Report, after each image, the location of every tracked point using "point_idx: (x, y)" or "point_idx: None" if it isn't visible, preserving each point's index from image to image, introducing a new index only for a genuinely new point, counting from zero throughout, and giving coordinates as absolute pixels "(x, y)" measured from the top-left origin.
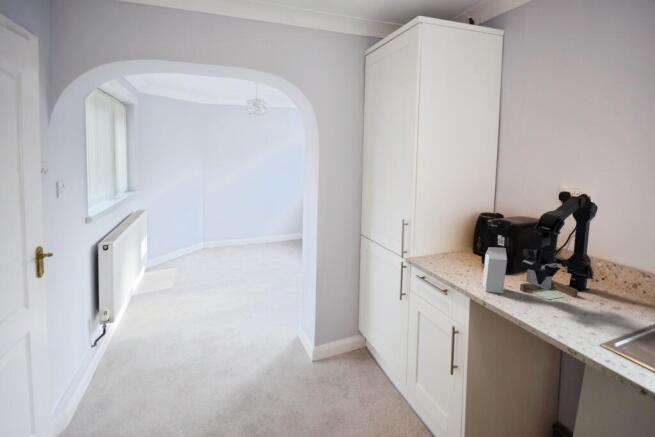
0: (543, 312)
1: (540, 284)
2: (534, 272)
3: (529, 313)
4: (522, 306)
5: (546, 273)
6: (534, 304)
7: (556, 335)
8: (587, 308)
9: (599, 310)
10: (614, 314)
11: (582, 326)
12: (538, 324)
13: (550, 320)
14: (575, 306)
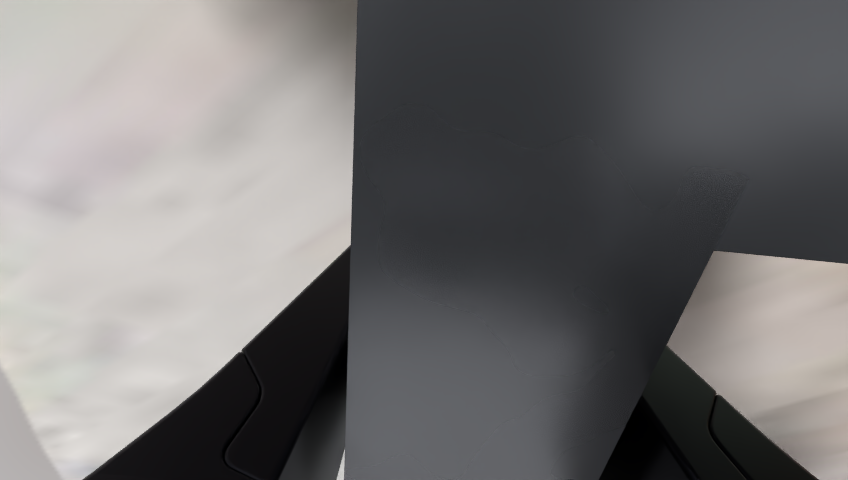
0: (271, 260)
1: None
2: (350, 256)
3: (104, 223)
4: (140, 76)
5: (635, 474)
6: (347, 97)
7: (82, 461)
8: (763, 353)
9: (797, 401)
10: (796, 460)
11: None
12: (51, 360)
13: (206, 358)
14: (722, 296)
